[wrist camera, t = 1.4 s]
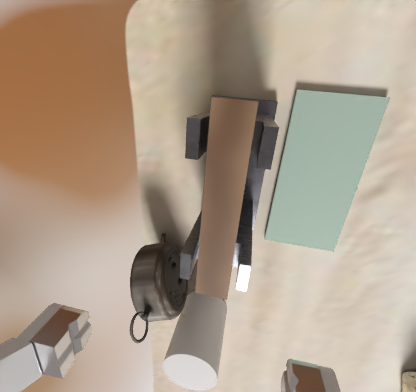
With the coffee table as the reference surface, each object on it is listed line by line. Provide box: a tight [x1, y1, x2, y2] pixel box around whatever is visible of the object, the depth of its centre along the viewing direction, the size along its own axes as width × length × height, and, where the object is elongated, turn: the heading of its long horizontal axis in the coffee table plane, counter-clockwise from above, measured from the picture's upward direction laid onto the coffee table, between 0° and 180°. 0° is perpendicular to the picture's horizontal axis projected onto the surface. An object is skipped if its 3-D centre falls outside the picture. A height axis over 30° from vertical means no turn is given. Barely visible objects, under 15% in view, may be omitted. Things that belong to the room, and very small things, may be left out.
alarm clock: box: [130, 234, 188, 343], centre depth 34 cm, size 11×5×16 cm, turn 15°
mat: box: [265, 90, 390, 252], centre depth 31 cm, size 10×21×1 cm, turn 175°
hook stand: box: [180, 95, 279, 292], centre depth 26 cm, size 8×18×15 cm, turn 175°
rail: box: [195, 97, 258, 300], centre depth 21 cm, size 3×18×3 cm, turn 175°
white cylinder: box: [163, 291, 227, 391], centre depth 39 cm, size 8×8×12 cm
